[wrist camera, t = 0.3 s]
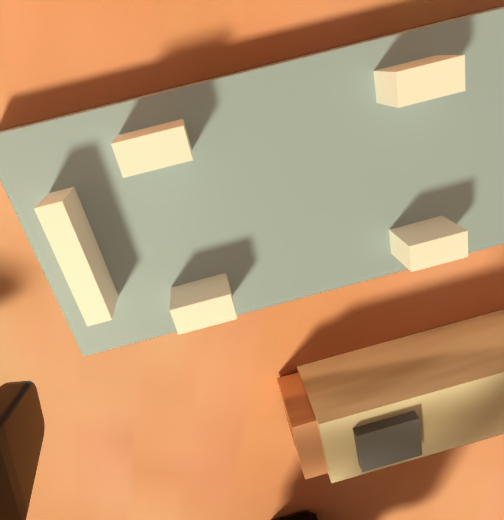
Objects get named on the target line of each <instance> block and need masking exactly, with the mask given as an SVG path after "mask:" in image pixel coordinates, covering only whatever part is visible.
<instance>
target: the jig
mask: <svg viewBox="0 0 504 520" xmlns="http://www.w3.org/2000/svg"><path fill="white" fill-rule="evenodd" d="M0 181H1V183H2V185H3V188H4V190H5V192H6V194H7V196H8V198H9V200H10V202H11V204H12V207H13V209H14V211H15V213H16V215H17V217H18V219H19V221H20V223H21V226H22V228H23V230H24V232H25V234H26V236H27V238H28V240H29V242H30V245H31V247H32V249H33V251H34V253H35V255H36V257H37V259H38V261H39V264H40V266H41V268H42V270H43V272H44V274H45V276H46V278H47V280H48V283H49V285H50V287H51V289H52V291H53V293H54V295H55V297H56V299H57V302H58V304H59V306H60V308H61V310H62V312H63V314H64V316H65V318H66V321H67V323H68V325H69V327H70V329H71V331H72V333H73V335H74V337H75V340H76V342H77V344H78V346H79V348H80V350H81V352H82V354H83V356H88V355H91V354H95V353H99V352H103V351H106V350H110V349H114V348H117V347H121V346H125V345H129V344H132V343H136V342H140V341H143V340H147V339H151V338H155V337H158V336H162V335H166V334H170V333H173V332H177V333H178V335H179V334H183V333H187V332H190V331H194V330H198V329H202V328H205V327H209V326H213V325H217V324H220V323H224V322H228V321H231V320H235V319H237V315H240V314H244V313H248V312H251V311H255V310H259V309H263V308H266V307H270V306H274V305H277V304H281V303H285V302H289V301H292V300H296V299H300V298H303V297H307V296H311V295H315V294H318V293H322V292H326V291H330V290H333V289H337V288H341V287H344V286H348V285H352V284H356V283H359V282H363V281H367V280H370V279H374V278H378V277H382V276H385V275H389V274H393V273H397V272H400V271H404V270H408V269H409V270H410V271H411V272H414V271H417V270H421V269H425V268H428V267H432V266H436V265H440V264H443V263H447V262H451V261H454V260H458V259H462V258H466V257H468V253H471V252H475V251H478V250H482V249H486V248H490V247H493V246H497V245H501V244H504V6H501V7H497V8H493V9H489V10H485V11H481V12H477V13H473V14H469V15H465V16H461V17H457V18H453V19H449V20H445V21H441V22H437V23H433V24H429V25H425V26H421V27H417V28H413V29H409V30H405V31H401V32H397V33H392V34H388V35H384V36H380V37H376V38H372V39H368V40H364V41H360V42H356V43H352V44H348V45H344V46H340V47H336V48H332V49H328V50H324V51H320V52H316V53H312V54H308V55H304V56H300V57H296V58H292V59H288V60H284V61H280V62H276V63H272V64H268V65H264V66H260V67H256V68H252V69H248V70H243V71H239V72H235V73H231V74H227V75H223V76H219V77H215V78H211V79H207V80H203V81H199V82H195V83H191V84H187V85H183V86H179V87H175V88H171V89H167V90H163V91H159V92H155V93H151V94H147V95H143V96H139V97H135V98H131V99H127V100H123V101H119V102H115V103H111V104H107V105H103V106H99V107H94V108H90V109H86V110H82V111H78V112H74V113H70V114H66V115H62V116H58V117H54V118H50V119H46V120H42V121H38V122H34V123H30V124H26V125H22V126H18V127H14V128H10V129H6V130H2V131H0Z"/></svg>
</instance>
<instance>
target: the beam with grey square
mask: <svg viewBox="0 0 504 520" xmlns="http://www.w3.org/2000/svg"><path fill="white" fill-rule="evenodd" d="M297 369H298V372H297V373H294V374H290V375H287V376H283V377H280V378H277V380H278V384H279V388H280V392H281V395H282V399H283V403H284V407H285V411H286V415H287V419H288V423H289V427H290V430H291V434H292V437H293V440H294V444H295V447H296V451H297V454H298V457H299V461H300V464H301V468H302V471H303V474H304V478H305V480H306V479H309V478H313V477H316V476H320V475H323V474H327V473H328V475H329V478H330V481H331V483H335V482H338V481H342V480H345V479H349V478H352V477H356V476H359V475H363V474H366V473H369V472H373V471H376V470H380V469H383V468H387V467H390V466H394V465H397V464H401V463H404V462H408V461H411V460H415V459H418V458H422V457H425V456H428V455H432V454H435V453H439V452H442V451H446V450H449V449H453V448H456V447H460V446H463V445H467V444H470V443H474V442H477V441H481V440H484V439H487V438H491V437H494V436H498V435H501V434H504V309H503V310H499V311H496V312H492V313H488V314H485V315H481V316H477V317H474V318H470V319H467V320H463V321H459V322H456V323H452V324H449V325H445V326H441V327H438V328H434V329H430V330H427V331H423V332H420V333H416V334H412V335H409V336H405V337H402V338H398V339H394V340H391V341H387V342H383V343H380V344H376V345H373V346H369V347H365V348H362V349H358V350H355V351H351V352H347V353H344V354H340V355H337V356H333V357H329V358H326V359H322V360H318V361H315V362H311V363H308V364H304V365H300V366H297Z"/></svg>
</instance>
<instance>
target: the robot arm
mask: <svg viewBox="0 0 504 520" xmlns="http://www.w3.org/2000/svg"><path fill="white" fill-rule="evenodd" d="M43 437H44V418H43V414H42V410H41V405H40V401H39V397H38V393H37V389H36V386H35V384H34V383H33V382H31V381H21V382H10V383H5V384H3V385H2V386H0V520H26V517H27V512H28V508H29V503H30V498H31V494H32V489H33V484H34V479H35V475H36V470H37V465H38V461H39V456H40V451H41V446H42V442H43ZM275 520H318V517H317V514H315V513H311V511H309V510H307V511H303V512H299V513H296V514H292V515H289V516H286V517H282V518H279V519H275Z"/></svg>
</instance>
